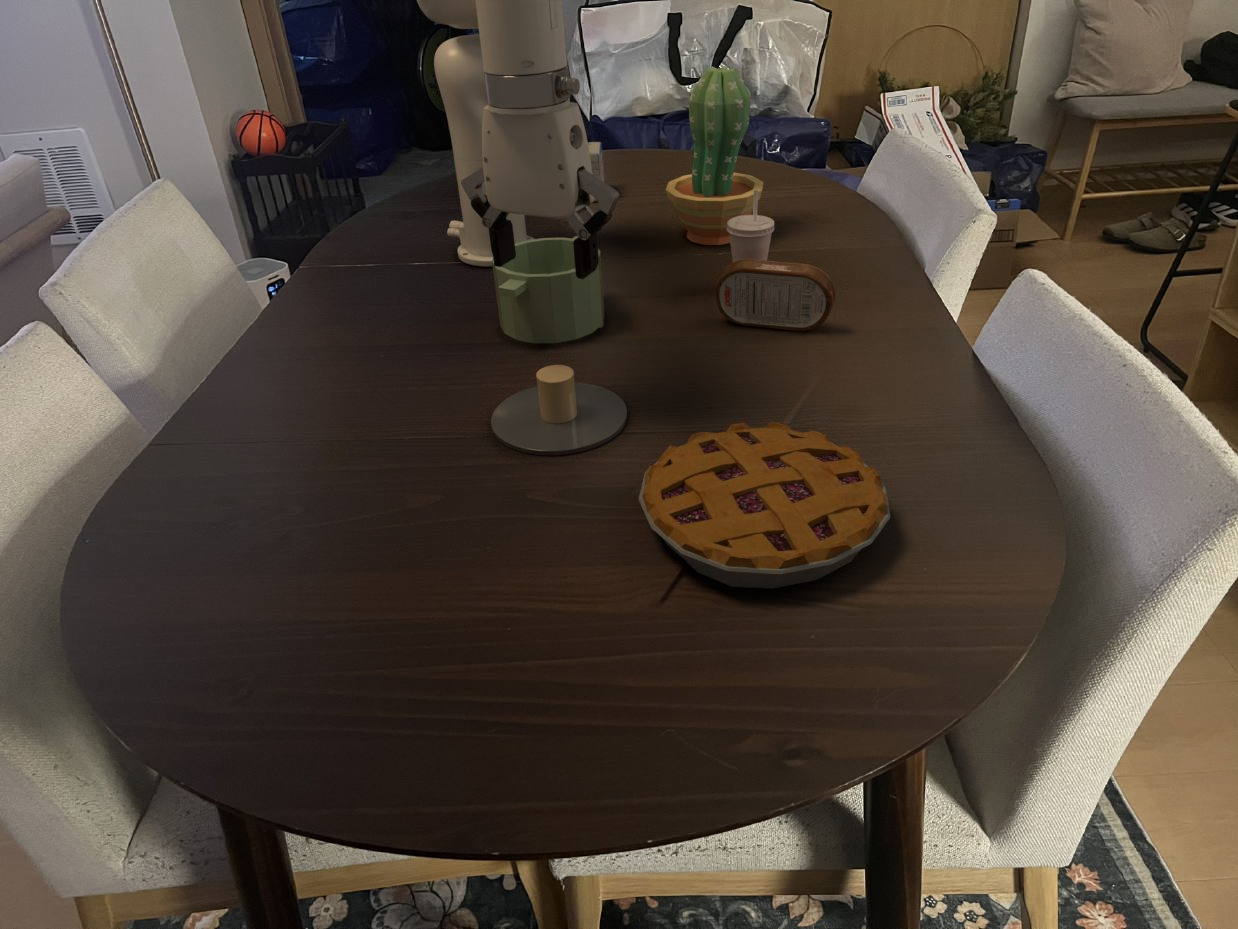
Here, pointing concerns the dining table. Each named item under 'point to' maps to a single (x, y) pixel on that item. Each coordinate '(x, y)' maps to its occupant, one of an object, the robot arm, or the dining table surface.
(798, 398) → the dining table surface
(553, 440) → the lid
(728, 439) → the pie
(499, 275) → the pot
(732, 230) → the smoothie
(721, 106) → the potted cactus
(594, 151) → the medicine box
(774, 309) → the tin
